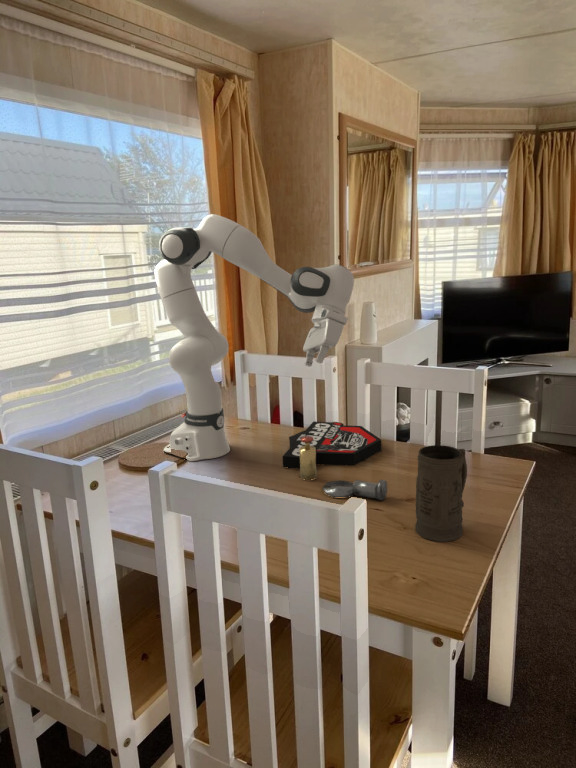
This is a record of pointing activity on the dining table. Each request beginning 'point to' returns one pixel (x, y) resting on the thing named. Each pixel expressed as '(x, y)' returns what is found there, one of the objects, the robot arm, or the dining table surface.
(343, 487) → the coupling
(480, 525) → the dining table surface
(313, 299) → the robot arm
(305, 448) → the valve
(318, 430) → the decorative sign
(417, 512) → the beer stein
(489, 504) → the dining table surface
